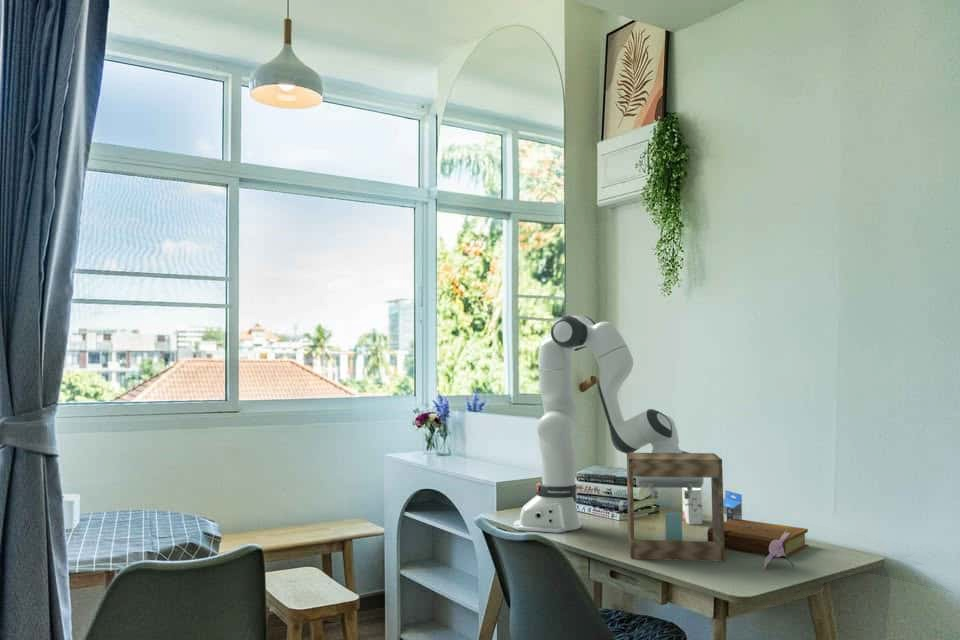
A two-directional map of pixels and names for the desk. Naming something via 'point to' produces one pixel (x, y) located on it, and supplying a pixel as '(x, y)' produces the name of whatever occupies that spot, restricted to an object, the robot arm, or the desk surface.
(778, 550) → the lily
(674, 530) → the teal block
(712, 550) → the walnut cubby
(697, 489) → the ink cartridge box
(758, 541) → the diary
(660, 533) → the desk surface
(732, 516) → the label tape cartridge
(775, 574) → the desk surface
